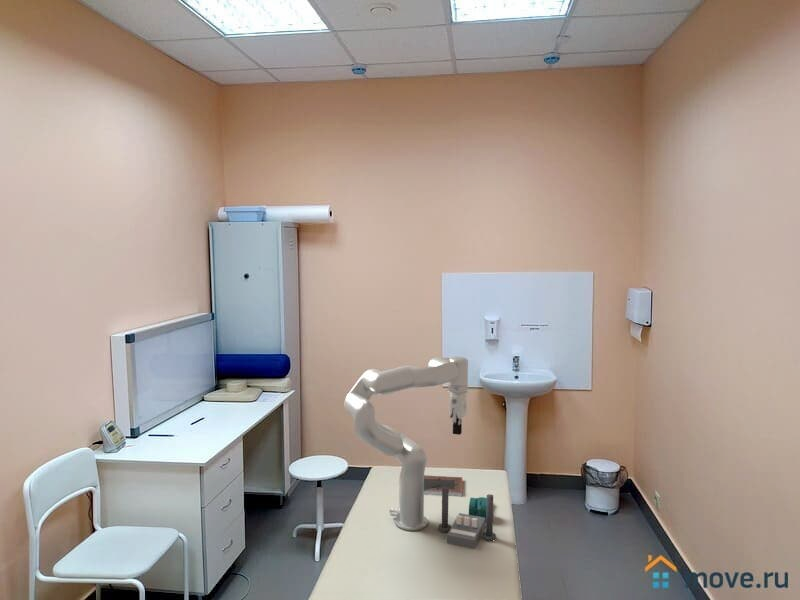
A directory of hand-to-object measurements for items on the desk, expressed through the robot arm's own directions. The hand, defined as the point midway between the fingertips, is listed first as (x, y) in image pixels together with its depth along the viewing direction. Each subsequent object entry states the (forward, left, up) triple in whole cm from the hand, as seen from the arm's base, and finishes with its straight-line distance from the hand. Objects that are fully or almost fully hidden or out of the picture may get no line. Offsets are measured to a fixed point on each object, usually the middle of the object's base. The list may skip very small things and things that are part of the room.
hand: (457, 433), depth 222 cm
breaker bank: (+8, -14, -30) cm, 34 cm away
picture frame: (-14, +21, -34) cm, 43 cm away
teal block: (+9, +5, -34) cm, 35 cm away
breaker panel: (+8, -14, -33) cm, 37 cm away
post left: (-1, -14, -33) cm, 36 cm away
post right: (+16, -14, -33) cm, 40 cm away
